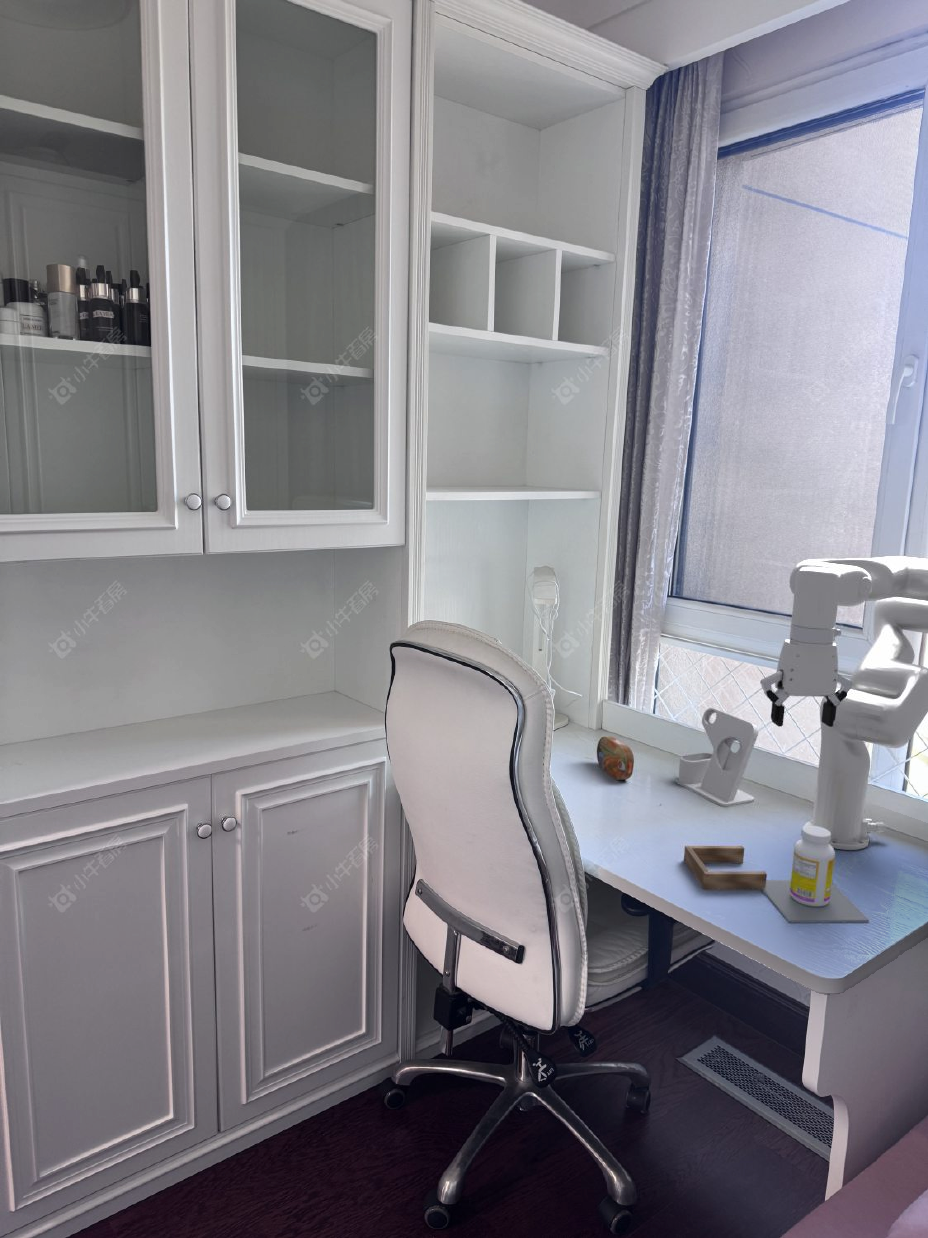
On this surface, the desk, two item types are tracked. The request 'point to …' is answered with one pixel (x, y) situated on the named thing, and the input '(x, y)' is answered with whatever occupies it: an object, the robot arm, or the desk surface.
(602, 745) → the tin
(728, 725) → the phone holder
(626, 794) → the desk surface
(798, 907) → the mat
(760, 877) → the wooden u-shaped frame
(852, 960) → the desk surface
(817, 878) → the supplement bottle
